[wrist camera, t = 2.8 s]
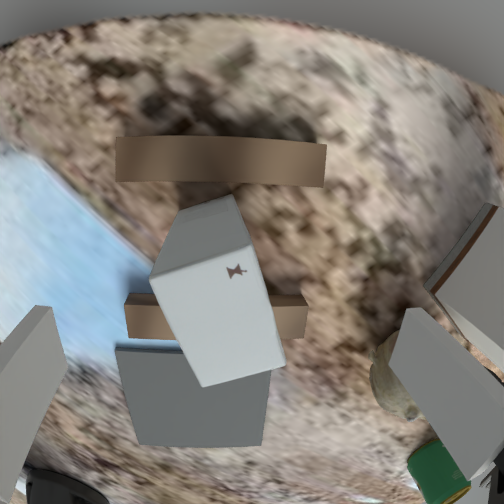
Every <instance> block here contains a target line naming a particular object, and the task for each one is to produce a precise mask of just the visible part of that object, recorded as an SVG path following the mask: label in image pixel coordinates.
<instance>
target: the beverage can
mask: <svg viewBox="0 0 504 504" xmlns="http://www.w3.org/2000/svg"><path fill="white" fill-rule="evenodd" d="M407 463H408V466H407V468H408V470H409V472H410V474H411V476H412V478H413V479H414V481H415V483H416V485H417V486H418V488H419V490H420V492H421V494H422V495H423V497H424V499H425V501H426V503H427V504H453V503H454V502H456V501H457V500H459V499H460V498H461V497H463V496H464V495H465V494H466V493H467V492H468V491H469V490H470V489H471V480H469V481H467V480H466V478H465V476H464V475H463V473H462V472H461V470H460V469H459V467H458V465H457V464H456V462H455V461H454V459H453V458H452V456H451V455H450V453H449V452H448V450H447V449H446V447H445V446H444V444H443V443H442V441H441V440H440V439H435V440H432V441H430V442H428V443H426V444H424V445H423V446H421V447H420V448H419V449H417V450H416V451H415V452H414V453H413V454H412V455H411V456H410V457H409V459H408V461H407Z"/></svg>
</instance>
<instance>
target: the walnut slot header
mask: <svg viewBox="0 0 504 504" xmlns="http://www.w3.org/2000/svg"><path fill="white" fill-rule="evenodd" d="M326 149H327V145H325V144H317V143H308V142H298V141H288V140H276V139H263V138H247V137H227V136H131V137H116V182H142V181H188V182H231V183H256V184H275V185H292V186H307V187H320V188H323V185H324V174H325V162H326ZM268 297H269V300H270V304H271V306H272V309H273V313H274V317H275V322H276V326H277V330H278V333H279V337H280V339H299V338H304V333H305V327H306V320H307V314H308V307H309V306H308V304H307V302H306V301H305V299H304V297H303V296H302V295H268ZM124 309H125V317H126V324H127V330H128V337H129V338H138V339H160V340H176V338H175V336H174V334H173V332H172V330H171V328H170V326H169V324H168V322H167V320H166V318H165V316H164V313H163V311H162V309H161V307H160V305H159V303H158V300H157V298H156V296H155V294H142V293H129V295H128V297H127V299H126V301H125V303H124Z"/></svg>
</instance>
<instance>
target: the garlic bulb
mask: <svg viewBox="0 0 504 504" xmlns="http://www.w3.org/2000/svg"><path fill="white" fill-rule="evenodd" d="M399 332H400V330H397V331H396V332H394V333H393V334H392V335H390V336H389V337H388V338H387V340H386V341H385V342H384V343H382V344H381V345H379V346H378V348H377V351H376V353H375V354H374V351H373V350H372V351H370V353H369V357H368V358H369V360H371V361H372V362H373V364H372V366H371V368H370V377H369V379H370V383H371V388H372V391H373V394H374V396H375V399H376V400H377V402H378V404H379V406H380V407H381V408H383V409H384V410H385V411H387V412H389V413H392V414H394V415H395V416H397V417H399V418H406V419H407V421H408V422H412V421H414V420H416V419H417V418H421V419H426V417H425V416H424V415H423V413H422V412H421V410H420V409H419V407H418V406H417V404H416V403H415V402H414V400H413V399H412V397H411V396H410V394H409V393H408V392H407V390H406V389H405V387H404V386H403V384H402V383H401V382H400V380H399V379H398V377H397V376H396V375H395V373H394V372H393V370H392V369H391V368H390V366H389V365H388V364H389V361H390V359H391V356H392V353H393V350H394V347H395V344H396V341H397V338H398V335H399ZM426 420H427V419H426Z"/></svg>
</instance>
